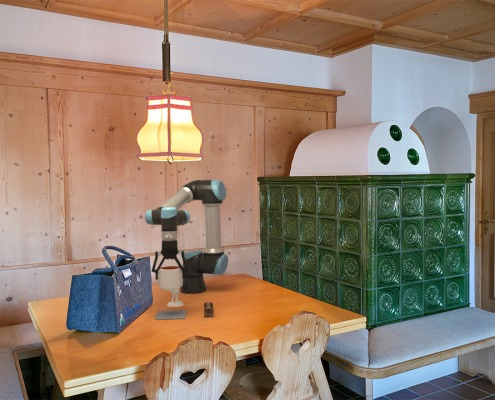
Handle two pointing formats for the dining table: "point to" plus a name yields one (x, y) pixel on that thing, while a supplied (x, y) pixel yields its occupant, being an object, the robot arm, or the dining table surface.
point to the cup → (170, 278)
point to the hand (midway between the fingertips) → (170, 286)
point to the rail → (208, 309)
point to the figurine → (177, 302)
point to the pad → (171, 315)
